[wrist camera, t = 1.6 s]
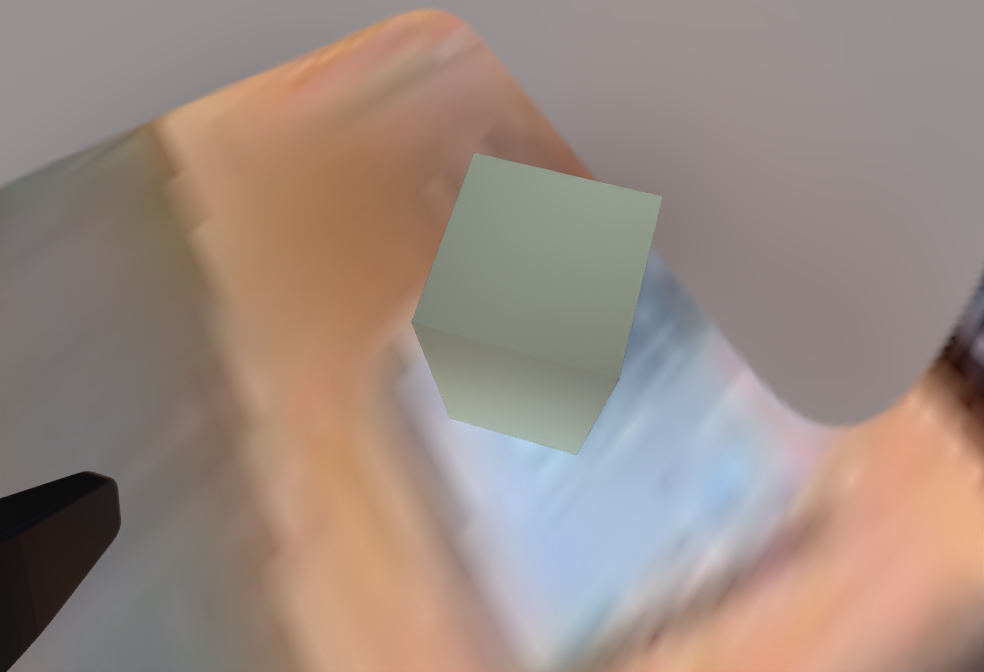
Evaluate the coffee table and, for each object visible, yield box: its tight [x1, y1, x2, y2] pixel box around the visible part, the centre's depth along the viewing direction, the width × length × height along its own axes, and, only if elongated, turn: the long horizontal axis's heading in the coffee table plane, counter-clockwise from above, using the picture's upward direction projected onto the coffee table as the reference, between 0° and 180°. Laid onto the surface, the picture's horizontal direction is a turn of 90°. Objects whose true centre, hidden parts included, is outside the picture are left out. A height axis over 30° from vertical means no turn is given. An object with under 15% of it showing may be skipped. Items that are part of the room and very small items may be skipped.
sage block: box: [412, 153, 663, 455], centre depth 18 cm, size 4×4×9 cm
